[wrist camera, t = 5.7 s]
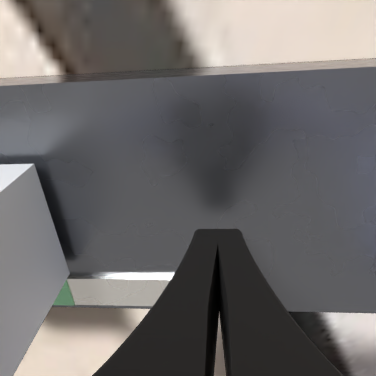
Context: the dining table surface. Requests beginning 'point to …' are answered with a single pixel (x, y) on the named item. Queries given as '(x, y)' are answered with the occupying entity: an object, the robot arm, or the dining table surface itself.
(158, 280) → the gauge base
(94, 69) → the dining table surface
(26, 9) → the dining table surface
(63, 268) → the white rectangular block
